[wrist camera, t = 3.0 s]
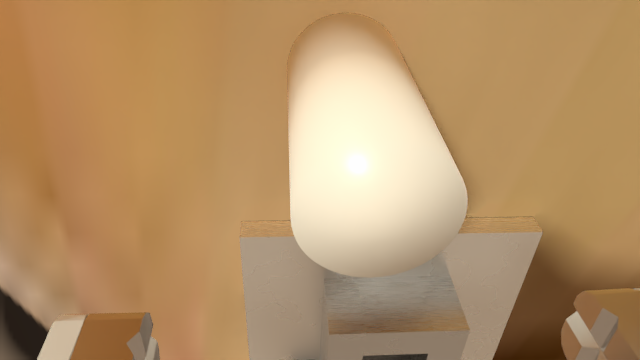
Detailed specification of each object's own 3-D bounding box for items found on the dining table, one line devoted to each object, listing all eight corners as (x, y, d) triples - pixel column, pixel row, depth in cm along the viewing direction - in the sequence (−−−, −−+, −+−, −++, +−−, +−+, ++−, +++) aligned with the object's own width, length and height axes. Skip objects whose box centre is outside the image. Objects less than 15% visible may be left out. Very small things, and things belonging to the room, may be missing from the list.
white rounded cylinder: (407, 13, 17) (485, 140, 10) (392, 118, 19) (449, 275, 13) (286, 11, 16) (290, 140, 10) (287, 119, 19) (290, 279, 12)
